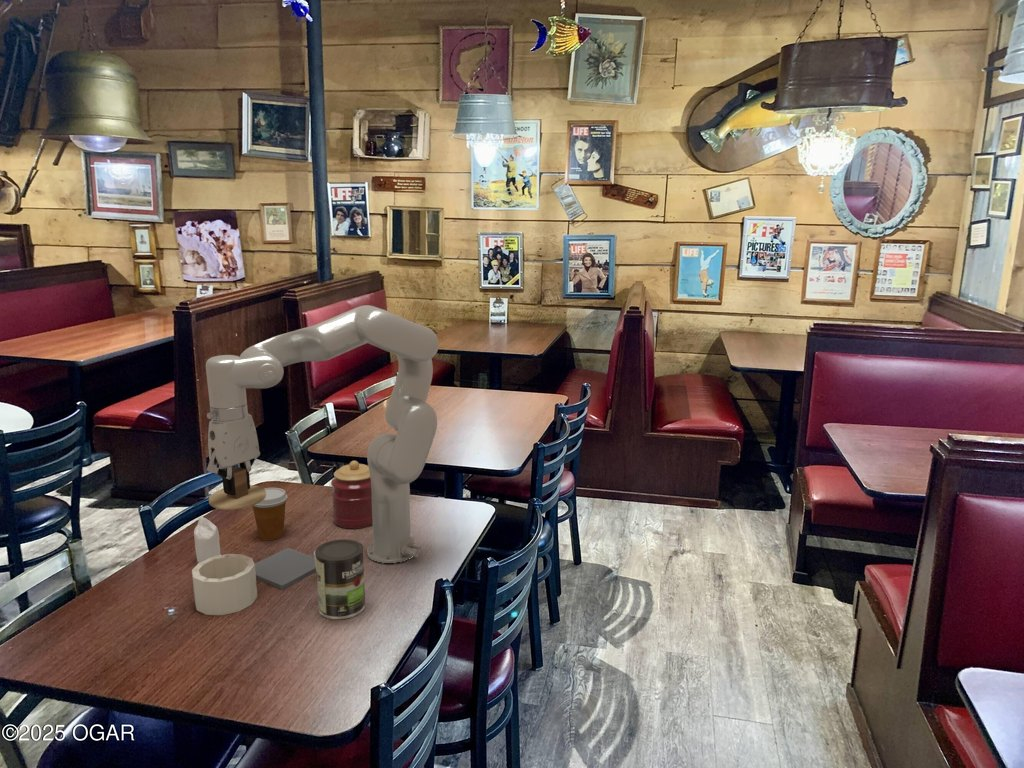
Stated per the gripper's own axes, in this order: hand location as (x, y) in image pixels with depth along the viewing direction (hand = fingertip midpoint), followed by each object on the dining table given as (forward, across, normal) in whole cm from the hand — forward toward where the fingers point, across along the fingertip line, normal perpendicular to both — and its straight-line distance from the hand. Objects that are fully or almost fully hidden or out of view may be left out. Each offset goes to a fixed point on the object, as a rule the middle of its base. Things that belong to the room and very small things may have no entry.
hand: (237, 490), depth 165 cm
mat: (+25, +12, 0) cm, 27 cm away
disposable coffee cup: (+25, +23, +18) cm, 38 cm away
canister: (+26, +43, +6) cm, 50 cm away
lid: (+2, 0, 0) cm, 2 cm away
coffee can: (+25, +6, -24) cm, 35 cm away
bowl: (+25, -6, 0) cm, 25 cm away
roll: (+25, +5, +20) cm, 32 cm away
